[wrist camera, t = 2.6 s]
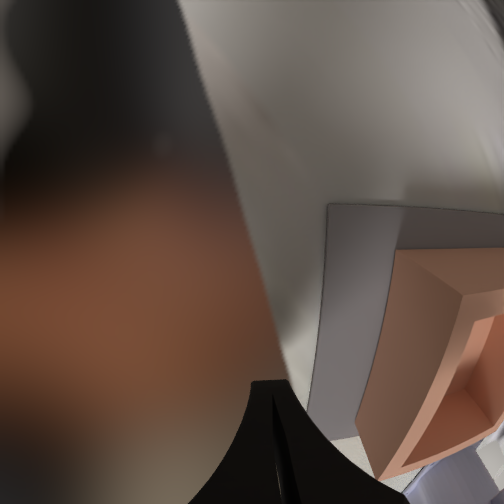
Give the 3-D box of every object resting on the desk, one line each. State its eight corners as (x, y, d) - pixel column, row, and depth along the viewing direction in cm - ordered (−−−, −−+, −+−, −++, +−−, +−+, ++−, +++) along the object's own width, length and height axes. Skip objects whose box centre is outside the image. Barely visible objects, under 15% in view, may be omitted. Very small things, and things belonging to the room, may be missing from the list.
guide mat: (532, 367, 15) (533, 368, 15) (300, 442, 15) (301, 444, 14) (576, 224, 11) (577, 225, 11) (327, 203, 11) (329, 204, 10)
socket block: (465, 391, 14) (495, 431, 10) (354, 422, 14) (376, 482, 10) (514, 247, 11) (569, 274, 7) (395, 249, 11) (462, 295, 7)
